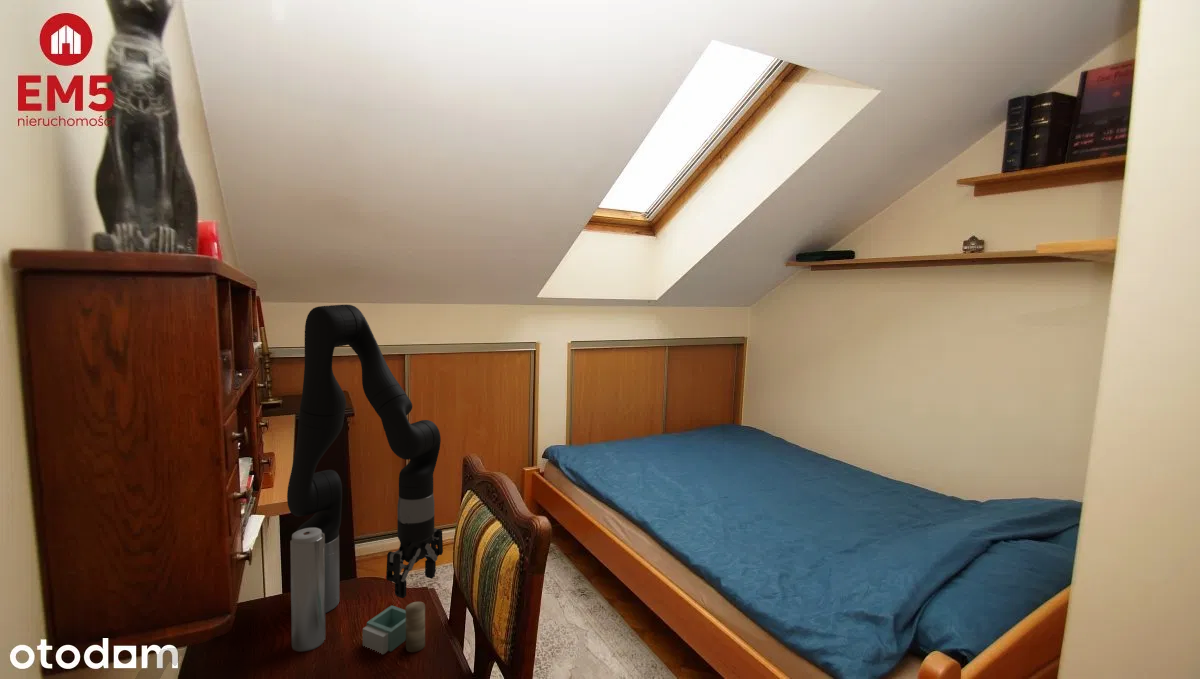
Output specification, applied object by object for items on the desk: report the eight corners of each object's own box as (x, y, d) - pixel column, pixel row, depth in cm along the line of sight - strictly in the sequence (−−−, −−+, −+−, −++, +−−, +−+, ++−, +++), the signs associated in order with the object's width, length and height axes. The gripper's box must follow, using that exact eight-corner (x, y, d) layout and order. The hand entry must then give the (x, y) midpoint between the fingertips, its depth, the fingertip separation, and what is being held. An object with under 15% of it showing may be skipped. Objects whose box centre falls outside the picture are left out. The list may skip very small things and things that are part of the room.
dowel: (401, 648, 113) (401, 609, 112) (414, 637, 116) (414, 599, 116) (416, 654, 111) (416, 614, 110) (429, 642, 115) (428, 604, 114)
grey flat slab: (362, 646, 113) (362, 628, 113) (367, 642, 114) (367, 625, 114) (383, 654, 111) (383, 636, 110) (388, 650, 112) (388, 633, 112)
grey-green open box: (366, 641, 115) (366, 622, 114) (391, 623, 121) (391, 605, 121) (390, 651, 112) (391, 632, 111) (415, 632, 118) (415, 613, 118)
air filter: (310, 654, 110) (309, 541, 108) (284, 649, 111) (282, 537, 109) (332, 635, 116) (331, 527, 114) (307, 630, 118) (306, 524, 116)
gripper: (426, 499, 119) (426, 567, 121) (376, 523, 106) (377, 598, 108) (452, 506, 116) (451, 575, 118) (404, 531, 103) (404, 608, 105)
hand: (416, 586), depth 113 cm, fingers open, 8 cm apart
